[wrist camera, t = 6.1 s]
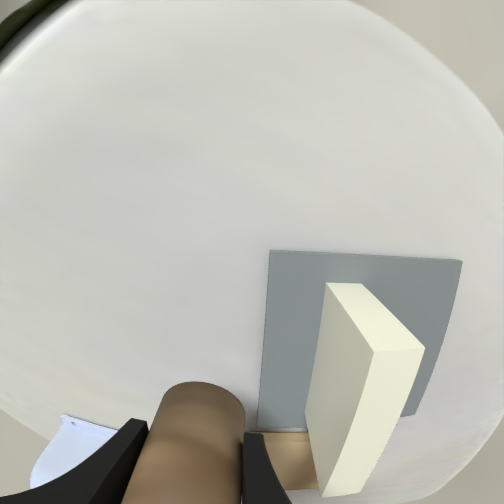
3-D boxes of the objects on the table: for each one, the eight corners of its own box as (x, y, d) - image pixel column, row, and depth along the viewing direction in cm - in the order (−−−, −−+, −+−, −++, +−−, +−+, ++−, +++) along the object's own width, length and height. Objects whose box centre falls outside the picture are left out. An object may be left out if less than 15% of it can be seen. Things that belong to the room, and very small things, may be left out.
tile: (304, 412, 17) (320, 497, 10) (325, 282, 15) (373, 351, 8) (337, 410, 17) (363, 492, 10) (365, 283, 15) (431, 347, 8)
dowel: (169, 436, 11) (132, 559, 5) (154, 378, 11) (88, 520, 4) (246, 440, 11) (241, 575, 5) (243, 382, 11) (233, 549, 4)
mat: (256, 423, 18) (256, 427, 17) (269, 249, 15) (270, 251, 15) (412, 411, 18) (414, 414, 17) (458, 259, 15) (462, 261, 15)
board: (245, 481, 19) (244, 489, 18) (248, 432, 18) (248, 442, 17) (347, 476, 19) (349, 484, 18) (369, 426, 18) (373, 435, 17)
